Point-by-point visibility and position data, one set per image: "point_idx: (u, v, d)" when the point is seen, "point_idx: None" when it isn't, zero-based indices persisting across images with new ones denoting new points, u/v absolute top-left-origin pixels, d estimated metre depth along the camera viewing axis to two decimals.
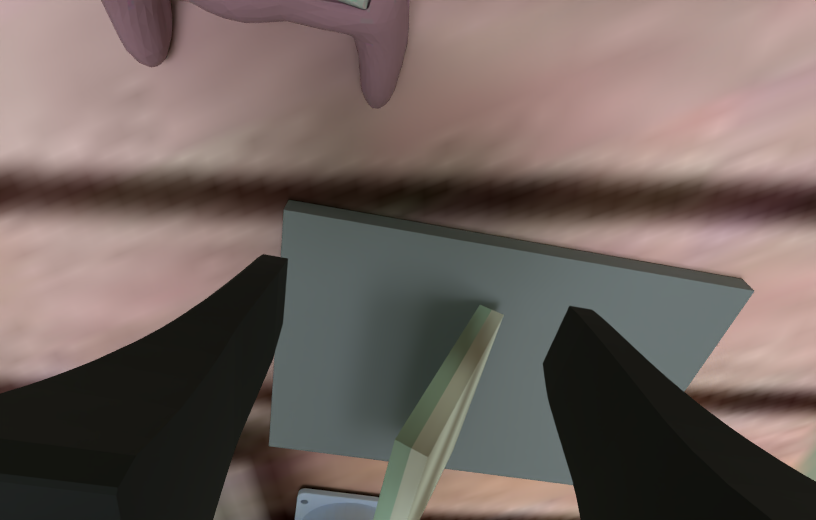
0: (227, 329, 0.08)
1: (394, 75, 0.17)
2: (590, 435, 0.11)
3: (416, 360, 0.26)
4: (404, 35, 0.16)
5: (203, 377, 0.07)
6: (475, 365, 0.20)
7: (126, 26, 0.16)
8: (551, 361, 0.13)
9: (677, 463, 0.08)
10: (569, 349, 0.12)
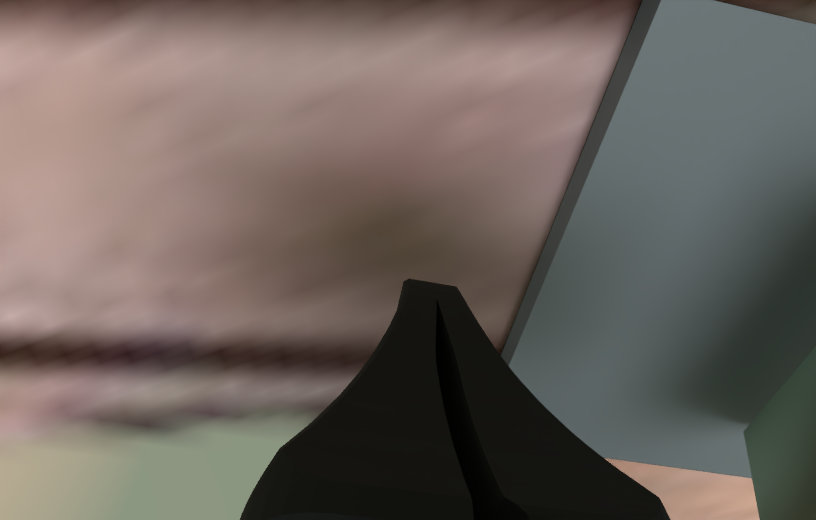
0: (429, 360, 0.09)
1: None
2: None
3: (769, 300, 0.16)
4: None
5: (444, 411, 0.07)
6: None
7: None
8: None
9: (464, 433, 0.07)
10: None
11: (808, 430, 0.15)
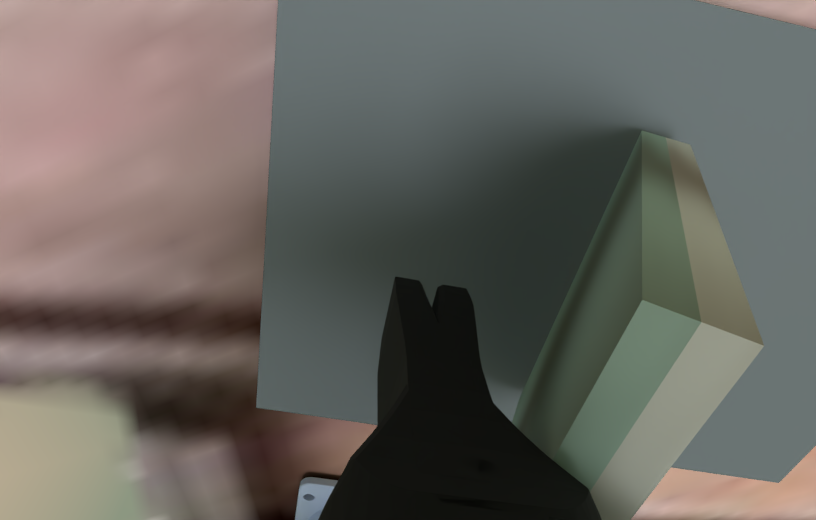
0: (475, 367, 0.09)
1: None
2: (387, 406, 0.10)
3: (506, 253, 0.15)
4: None
5: (498, 419, 0.07)
6: (705, 193, 0.09)
7: None
8: (383, 335, 0.12)
9: None
10: (388, 320, 0.11)
11: (532, 389, 0.14)
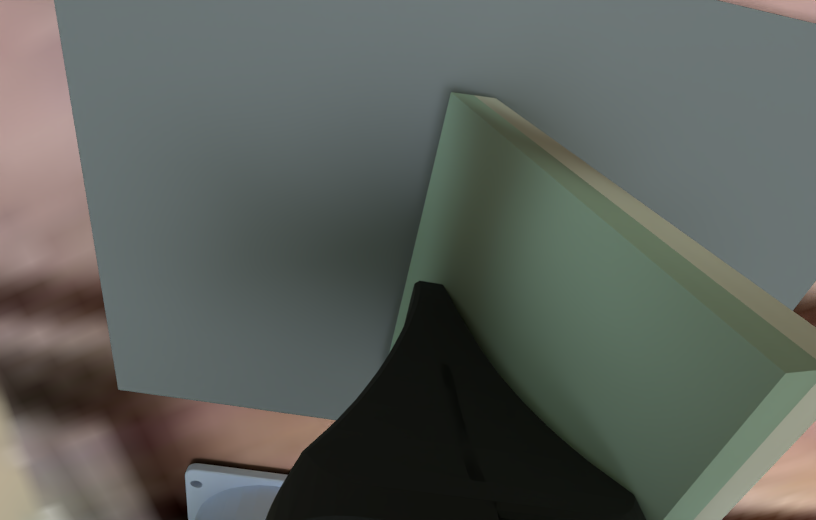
0: (444, 362, 0.09)
1: None
2: None
3: (342, 224, 0.14)
4: None
5: (461, 414, 0.07)
6: (586, 165, 0.09)
7: None
8: None
9: None
10: None
11: None
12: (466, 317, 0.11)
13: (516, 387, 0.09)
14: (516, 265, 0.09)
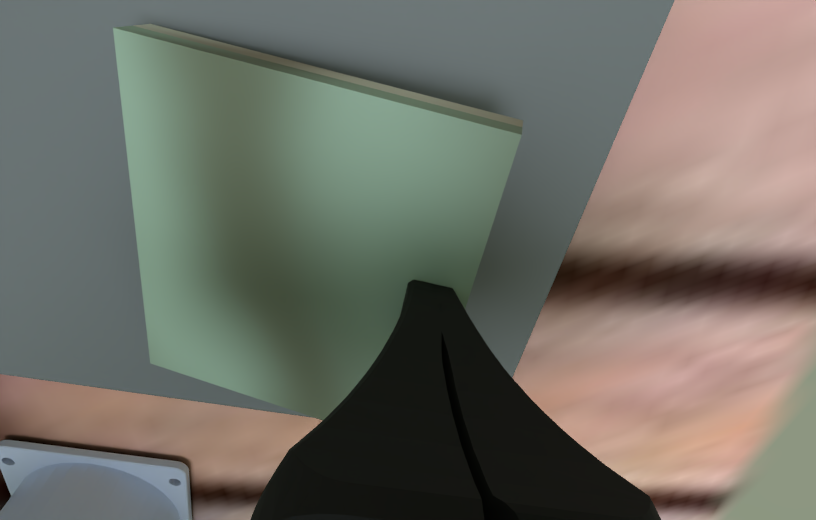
0: (435, 361, 0.09)
1: None
2: None
3: (60, 174, 0.14)
4: None
5: (451, 413, 0.07)
6: (310, 66, 0.11)
7: None
8: None
9: None
10: None
11: (227, 317, 0.14)
12: (264, 228, 0.12)
13: (350, 243, 0.12)
14: (309, 160, 0.11)
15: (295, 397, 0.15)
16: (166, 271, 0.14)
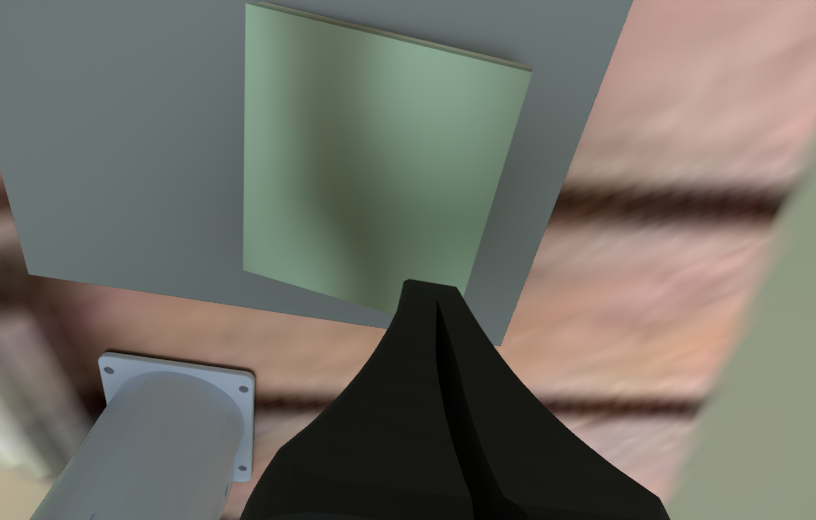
0: (429, 360, 0.09)
1: None
2: None
3: (184, 118, 0.18)
4: None
5: (443, 411, 0.07)
6: (380, 30, 0.16)
7: None
8: None
9: (464, 434, 0.07)
10: None
11: (309, 226, 0.19)
12: (343, 150, 0.17)
13: (408, 160, 0.16)
14: (381, 97, 0.16)
15: (357, 291, 0.20)
16: (264, 190, 0.18)
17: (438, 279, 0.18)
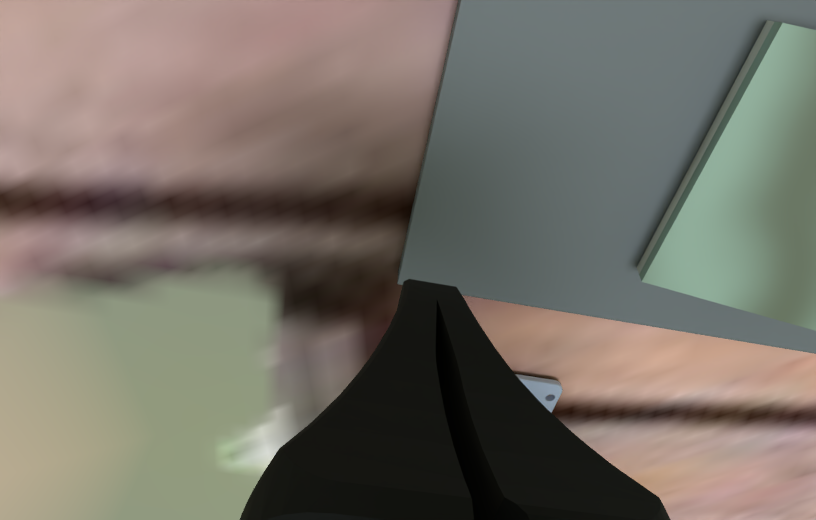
0: (429, 360, 0.09)
1: None
2: None
3: (629, 132, 0.18)
4: None
5: (444, 411, 0.07)
6: None
7: None
8: None
9: (464, 433, 0.07)
10: None
11: (745, 239, 0.19)
12: None
13: None
14: None
15: (770, 304, 0.20)
16: (709, 204, 0.18)
17: None
